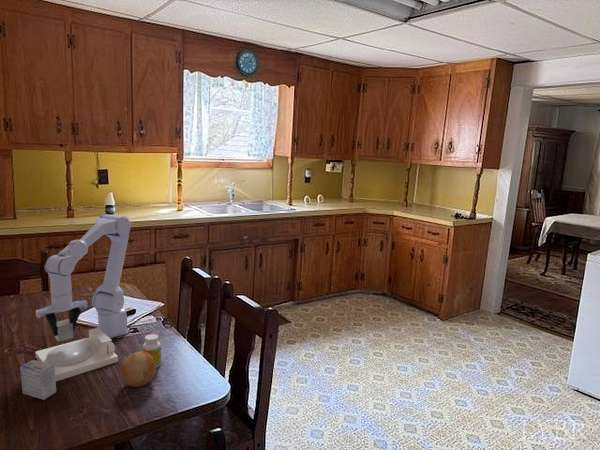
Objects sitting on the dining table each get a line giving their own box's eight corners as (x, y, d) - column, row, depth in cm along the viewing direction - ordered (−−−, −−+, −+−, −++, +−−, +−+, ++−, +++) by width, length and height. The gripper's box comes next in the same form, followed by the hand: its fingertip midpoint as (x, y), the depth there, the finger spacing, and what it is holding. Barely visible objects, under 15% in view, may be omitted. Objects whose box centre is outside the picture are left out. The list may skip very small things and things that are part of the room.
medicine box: (57, 392, 123) (55, 364, 122) (43, 401, 119) (41, 372, 118) (36, 386, 126) (33, 358, 124) (21, 394, 122) (19, 366, 120)
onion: (136, 397, 123) (135, 365, 121) (114, 385, 128) (112, 354, 126) (163, 382, 131) (162, 351, 129) (141, 371, 136) (140, 342, 134)
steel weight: (69, 333, 144) (68, 319, 143) (73, 337, 141) (72, 323, 140) (54, 336, 141) (53, 322, 140) (58, 341, 138) (57, 327, 137)
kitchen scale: (97, 340, 155) (96, 323, 154) (119, 361, 142) (118, 343, 140) (35, 357, 141) (34, 339, 140) (53, 382, 128) (52, 362, 127)
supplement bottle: (155, 370, 137) (154, 341, 136) (139, 367, 138) (139, 339, 137) (163, 361, 143) (163, 334, 141) (149, 359, 144) (148, 332, 142)
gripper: (81, 284, 145) (83, 322, 148) (31, 293, 135) (34, 334, 138) (88, 290, 140) (90, 329, 143) (38, 300, 130) (41, 342, 133)
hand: (63, 332), depth 140 cm, fingers closed on steel weight, 4 cm apart
